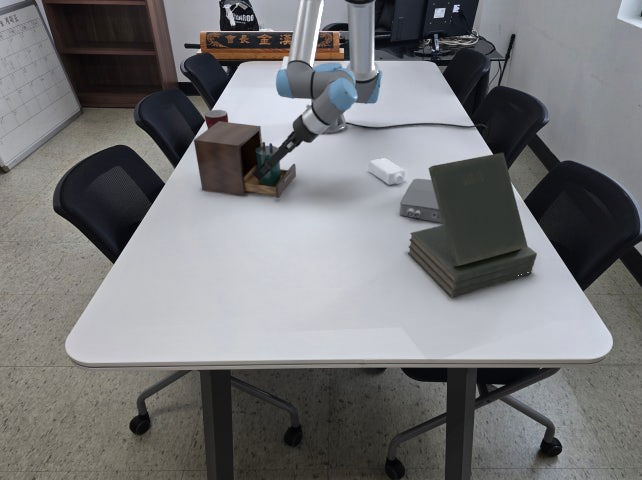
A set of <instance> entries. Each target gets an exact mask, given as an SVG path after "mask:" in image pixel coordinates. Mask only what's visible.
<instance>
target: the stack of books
mask: <svg viewBox="0 0 642 480" xmlns="http://www.w3.org/2000/svg"><path fill="white" fill-rule="evenodd" d="M427 169H428V172H429V177H430V180H432V184H433V188H434V192H435V196H436V200H437V204H438V208H439V211H440V215H441V219H442V223H441V224H442V225H437V226H433V227H430V228H425V229H420V230H416V231H412V232H410V235H411V236H410V238H409V239H408V240H409V242H410V245H408V248H409V252H407V254H408V255H409V257H411V259H413V261H414V262H415V263H416V264H417V265H418V266H419V267H420V268H421V269H422V270H423V271H424V272H425V273H426V274H427V275H428V276H429V277H430V278H431V279H432V280H433V281H434V282H435V283H436V284H437V285H438V286H439V288H441V290H443V292H444V293H445V294H446V295H447V296H448V297H449V298H450V299H452V298H455V297H458V296H461V295H465V294H468V293H469V294H470V293H472V292H475V291H479V290H482V289H485V288H489V287H492V286H495V285H499V284H503V283H506V282H509V281H513V280H516V279H519V278H523V277H526V276H530V275H531V274H532V272H533V268H534V265H535V263H536V262H535V261H536V259H537V256H538V252H536V251H534V250H533V249H532V248H530V247H529V246H528V241H527V238H526V234H525V230H524V227H523V222H522V218H521V215H520V212H519V211H520V210H519V207H518V204H517V203H518V202H517V199H516V196H515V192H514V187H513V184H512V181H511V176H510V173H509V168H508V165H507V161H506V157H505V154H504V152H498V153H493V154H489V155H488V154H487V155H482V156H478V157H473V158H472V157H471V158H467V159H461V160H456V161H450V162H445V163H440V164H433V165H431V166H430V167H428V168H427ZM531 271H532V272H531ZM527 272H529V273H527ZM521 274H522V275H521ZM518 275H519V276H518Z"/></svg>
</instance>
